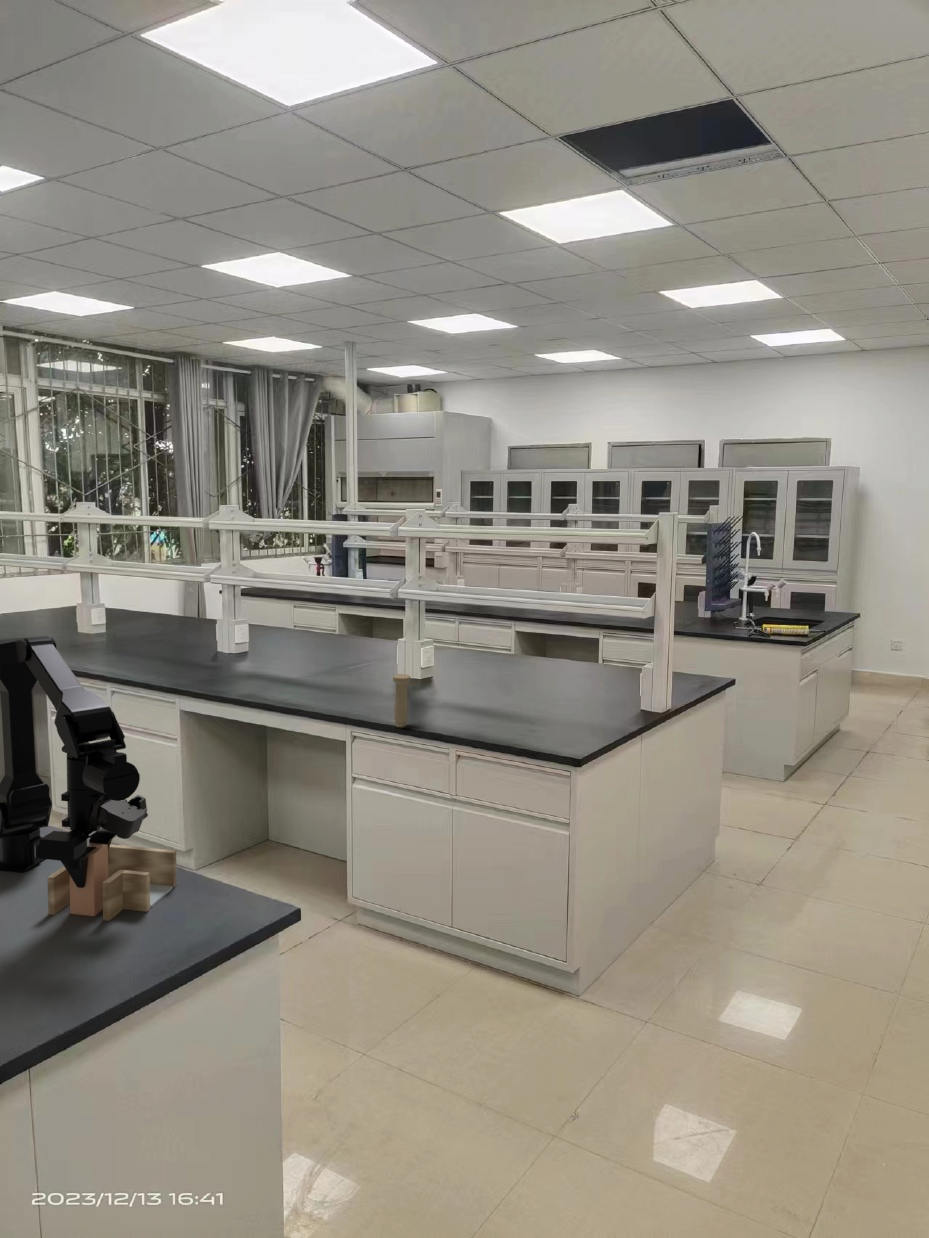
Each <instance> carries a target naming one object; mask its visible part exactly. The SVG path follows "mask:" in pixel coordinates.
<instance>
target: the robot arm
mask: <svg viewBox="0 0 929 1238" xmlns="http://www.w3.org/2000/svg"><path fill="white" fill-rule="evenodd" d="M37 682H38V684H39V685H40V687H41V689H42V690H43V692H44V693H45V695H46V696H47V698H48V699H49V701H50V702H51V704H52V706H54V709H55V711H56V712H55V718H54V725H55V727H56V731H57V734H58V737H59V738H60V740H61V742H62V743H63V745H62V747H61V752H63V753H65V754H66V790H67V791H65V792H63V793H62V794H61V795H60V800H61V801H62V802H67V803H66V805H67V816H66V817H65V818H63V819H62V820H61V828H69V829H70V830H69V831H60V830H53V831H51V832H49V833H48V834H46V835H45V836H41V829H42V828H47V827H49V825H50V824H49V823H50V818H51V812H52V807H53V803H52V800H51V797H50V787H49V785H48V783H45V782H44V781H43V780H42V778H41V777H40V776H39V775H38V774H37V773H38V772H37V759H36V738H35V737H36V736H35V722H34V718H35V717H34V701H33V690H34V689H35V686H36V684H37ZM0 706H1V707H0V710H1V724H2V727H1V729H2V742H3V744H2V745H3V747H2V748H3V763H4V764H3V766H4V776H3V777H2V779H1V780H0V870H1V871H2V870H3V871H12V872H22V873H23V872H27V871H28V870H30V869H31V868H33V867H34V866H36V865H37V864H39V863H40V862H42V861H44V860H50V861H51V860H52V861H58V862H59V861H60V862H61V864H62V865H63V866H64V867H65V868H66V870H67V871H68V873H69V875H70V876H71V878H72V879H73V881H74V883H75V884H76V886H77V887H78V888H84V887H85V883H86V877H87V865H88V856H89V855H90V854H91V853H92V852H93V851H94V850H95V849H96V848H97V847H89V843H99V844H108V849H109V847H110V844H112V841H113V840H114V839H115V838H116V837H118V838H120V839H123V840H126V839H129V838H131V837H132V836H133V835H134V834H136V833H138V832H139V831H140V829H141V827H142V823H143V821H144V820H145V819H146V818H148V816H149V813H148V812H147V811H148V807H147V800H146V799H147V798H145V797H144V796H142V795H140V794H137V795H135V796H133V797H132V798H131V799H130V800H127V799H128V798H130V797H131V796H132V795H133V794H134V793H135V792H136V791H137V789H138V787H139V784H140V781H141V775H140V773H139V770H138V768H137V767H136V766H135V764H133V763H131V762H129V761H128V758H127V753H125V752H118V751H119V750H125V749H126V748H127V746H126V745H127V744H126V743H125V740H124V739H125V738H126V735H125V734H124V732H123V730H122V728H121V726H120V724H119V721H118V720H117V718H116V714H115V713H114V710H113V709H112V708H111V706H109V704H108V703H107V702H106V701H105V700H104V699H103V698H102V697H101V696H100V695H99V694H96V693H93V692H91V691H89V690H86V689H85V688H84V686H83V685H82V684H81V682H80V681H79V680H78V678H77V677H76V675H75V673H74V672H73V670H72V669H71V667H70V666H69V665H68V663H67V662H66V661H65V660H64V658H63V656H62V655H61V654H60V652H59V651H58V650H57V643H56V641H55V639H54V638H53V637H49V636H48V635H44V636H43V635H42V636H30V637H28V636H27V637H19V638H17V637H15V638H7V639H0ZM108 738H109V739H108ZM106 739H107V740H106ZM100 740H101V741H100ZM95 741H96V742H95ZM90 742H91V743H90Z"/></svg>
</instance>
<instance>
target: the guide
mask: <svg viewBox="0 0 929 1238" xmlns="http://www.w3.org/2000/svg"><path fill="white" fill-rule="evenodd" d="M176 886H177V850H173V849H163V848H162V849H161V848H151V847H145V846H144V847H142V846H141V847H140V846H133V845H132V846H131V845H123V844H121V845H119V844H113V843H111V844H110V847H109V849H108V879H107V880H106V881H104V882H103V910H102V921H107V922H110V921H111V920H112V919H114V918H115V917H116V916H117V915H119V913H120V912H122V911H124V910H127V911H136V912H137V911H138V912H144V913H145V912H148V911H150V910H151V908H153V907H154V906H155V905H156V904H157V903H158V902H160V901H161V900H162V899H163V898H164V897H165V896H166V895H167V894H168V893H170V891H172V889H173V888H175V887H176ZM47 902H48V903H47V908H48V912H47V913H48V915H49V916H51V915H52V916H55V915H57V914H58V913H59V912H60V911H62V910H63V909H65V908H66V907H67V906H68V905H70V875H69V873H68V871H67V870H66V868H65V867H64V865H63V866H62V867H61V868H59V869H58V870H56V871H55V872H53V873H52V874H50V875H49V876H48V877H47Z"/></svg>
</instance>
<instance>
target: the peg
mask: <svg viewBox="0 0 929 1238" xmlns="http://www.w3.org/2000/svg"><path fill="white" fill-rule="evenodd" d="M89 847H97V848H96V849H95V850H94V851H93V852H92V853H91V854H90V855H89V856H88V865H87V877H86V883H85V887H84V888H78V887H77V886H76V884H75V883H74V881H73V879H72V878H71V876H70V904H69V908H70V909H69V911H70V914H71V915H72V914H73V915H78V916H79V915H80V916H91V917H96V915H98V914H99V913H100V912H102V911H103V882H104V881H106V880H107V879H108V844H99V843H89Z"/></svg>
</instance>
